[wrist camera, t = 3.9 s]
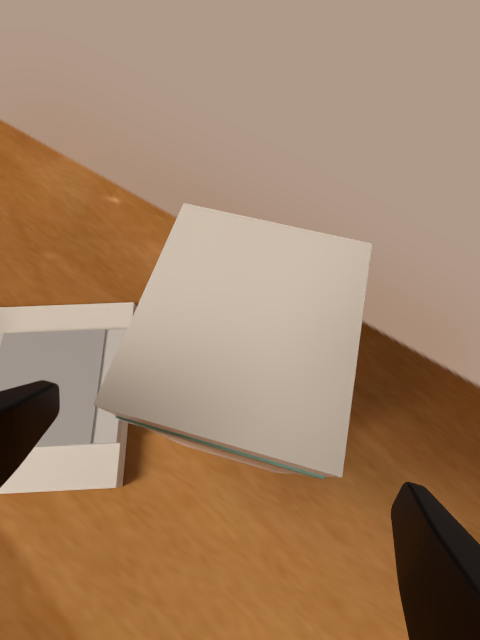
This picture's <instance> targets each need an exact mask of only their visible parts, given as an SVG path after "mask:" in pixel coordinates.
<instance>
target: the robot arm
mask: <svg viewBox="0 0 480 640" xmlns="http://www.w3.org/2000/svg"><path fill="white" fill-rule="evenodd" d="M59 411H60V392H59V386H58V384H56V383H53V382H50V381H46V380H40V381H36V382H32V383H29V384H25V385H21V386H17V387H14V388H10V389H6V390H3V391H0V488H1V487H2V486H3V484H4V483H5V482H6V481H7V480H8V479H9V478H10V477H11V476H12V474H13V473H14V472H15V471H16V470H17V469H18V468H19V466H20V465H21V464H22V463H23V461H24V460H25V459H26V458H27V456H28V455H29V454H30V452H31V451H32V450H33V448H34V447H35V446H36V444H37V443H38V442H39V440H40V439H41V438H42V436H43V435H44V434H45V433H46V431H47V430H48V429H49V427H50V426H51V425H52V423H53V422H54V421H55V419H56V418H57V416H58V414H59ZM391 520H392V530H393V539H394V549H395V558H396V568H397V577H398V584H399V591H400V596H401V602H402V606H403V611H404V616H405V621H406V626H407V631H408V636H409V640H480V544H479V543H478V542H477V541H476V540H475V539H474V538H473V537H472V536H471V535H470V534H469V533H468V532H467V531H466V530H465V529H464V528H463V527H462V525H461V524H460V523H459V522H458V521H457V520H456V519H455V518H454V517H453V516H452V515H451V514H450V513H449V512H448V511H447V510H446V509H445V508H444V507H443V505H442V504H441V503H440V502H439V501H438V500H437V499H436V498H435V497H434V496H433V495H432V494H431V493H430V492H429V491H428V490H427V489H426V488H425V487H424V486H421V485H418V484H414V483H411V482H405V483H404V484H403V485H402V487H401V489H400V491H399V493H398V495H397V497H396V499H395V501H394V503H393V505H392V509H391Z"/></svg>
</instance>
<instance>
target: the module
mask: <svg viewBox="0 0 480 640" xmlns="http://www.w3.org/2000/svg"><path fill="white" fill-rule="evenodd" d="M371 248H372V244H371V243H366V242H362V241H357V240H352V239H348V238H343V237H339V236H334V235H329V234H325V233H320V232H316V231H311V230H306V229H302V228H297V227H292V226H288V225H283V224H278V223H274V222H269V221H264V220H260V219H255V218H251V217H246V216H241V215H237V214H232V213H227V212H223V211H218V210H213V209H209V208H204V207H199V206H195V205H190V204H185V203H184V204H183V206H182V208H181V210H180V213H179V215H178V217H177V219H176V222H175V224H174V226H173V228H172V230H171V233H170V235H169V237H168V239H167V242H166V244H165V246H164V248H163V250H162V253H161V255H160V257H159V259H158V262H157V264H156V266H155V268H154V270H153V273H152V275H151V277H150V279H149V281H148V284H147V286H146V288H145V290H144V293H143V295H142V297H141V299H140V301H139V304H138V306H137V308H136V310H135V313H134V315H133V317H132V319H131V321H130V324H129V326H128V328H127V330H126V333H125V335H124V337H123V339H122V341H121V344H120V346H119V348H118V350H117V353H116V355H115V357H114V359H113V361H112V364H111V366H110V368H109V370H108V373H107V375H106V377H105V379H104V381H103V384H102V386H101V388H100V390H99V393H98V395H97V397H96V399H95V401H94V404H93V405H94V406H96V407H98V408H101V409H103V410H105V411H107V412H110V413H112V414H114V415H116V417H115V418H117V419H119V420H122V421H124V422H126V423H129V424H133V425H136V426H140V427H143V428H145V429H148V430H150V431H152V432H154V433H157V434H159V435H161V436H163V437H166V438H168V439H170V440H172V441H175V442H177V443H179V444H181V445H184V446H187V447H190V448H194V449H197V450H201V451H204V452H207V453H211V454H214V455H217V456H221V457H224V458H228V459H231V460H234V461H238V462H241V463H244V464H248V465H251V466H255V467H258V468H261V469H265V470H268V471H272V472H275V473H288V474H301V475H306V476H310V477H313V478H319V479H325V476H328V477H341V478H342V474H343V466H344V459H345V451H346V443H347V435H348V427H349V420H350V412H351V404H352V396H353V388H354V381H355V373H356V365H357V357H358V349H359V341H360V334H361V326H362V318H363V310H364V302H365V294H366V287H367V279H368V271H369V263H370V256H371Z"/></svg>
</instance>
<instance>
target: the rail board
mask: <svg viewBox="0 0 480 640" xmlns="http://www.w3.org/2000/svg"><path fill="white" fill-rule="evenodd" d="M136 308H137V306H136V305H135V303H134V302H129V303H103V304H77V305H52V306H26V307H0V391H3V390H6V389H10V388H14V387H17V386H21V385H25V384H29V383H32V382H36V381H40V380H46V381H50V382H53V383H56V384H58V386H59V392H60V411H59V414H58V416H57V418H56V419H55V421H54V422H53V423H52V425H51V426H50V427H49V429H48V430H47V431H46V433H45V434H44V435H43V436H42V438H41V439H40V440H39V442H38V443H37V444H36V446H35V447H34V448H33V450H32V451H31V452H30V454H29V455H28V456H27V458H26V459H25V460H24V461H23V463H22V464H21V465H20V466H19V468H18V469H17V470H16V471H15V472H14V473H13V474H12V476H11V477H10V478H9V479H8V480H7V481H6V482H5V483H4V484H3V486H2V487H1V488H0V494H6V493H25V492H43V491H62V490H81V489H100V488H117V487H123V476H124V465H125V454H126V443H127V432H128V423H126V422H124V421H122V420H119V419H117V418H115V417H116V415H114V414H112V413H110V412H107V411H105V410H103V409H101V408H98V407H96V406H94V405H93V404H94V401H95V399H96V397H97V395H98V393H99V390H100V388H101V386H102V384H103V381H104V379H105V377H106V375H107V373H108V370H109V368H110V366H111V364H112V361H113V359H114V357H115V355H116V353H117V350H118V348H119V346H120V344H121V341H122V339H123V337H124V335H125V333H126V330H127V328H128V326H129V324H130V321H131V319H132V317H133V315H134V313H135V310H136Z"/></svg>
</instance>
